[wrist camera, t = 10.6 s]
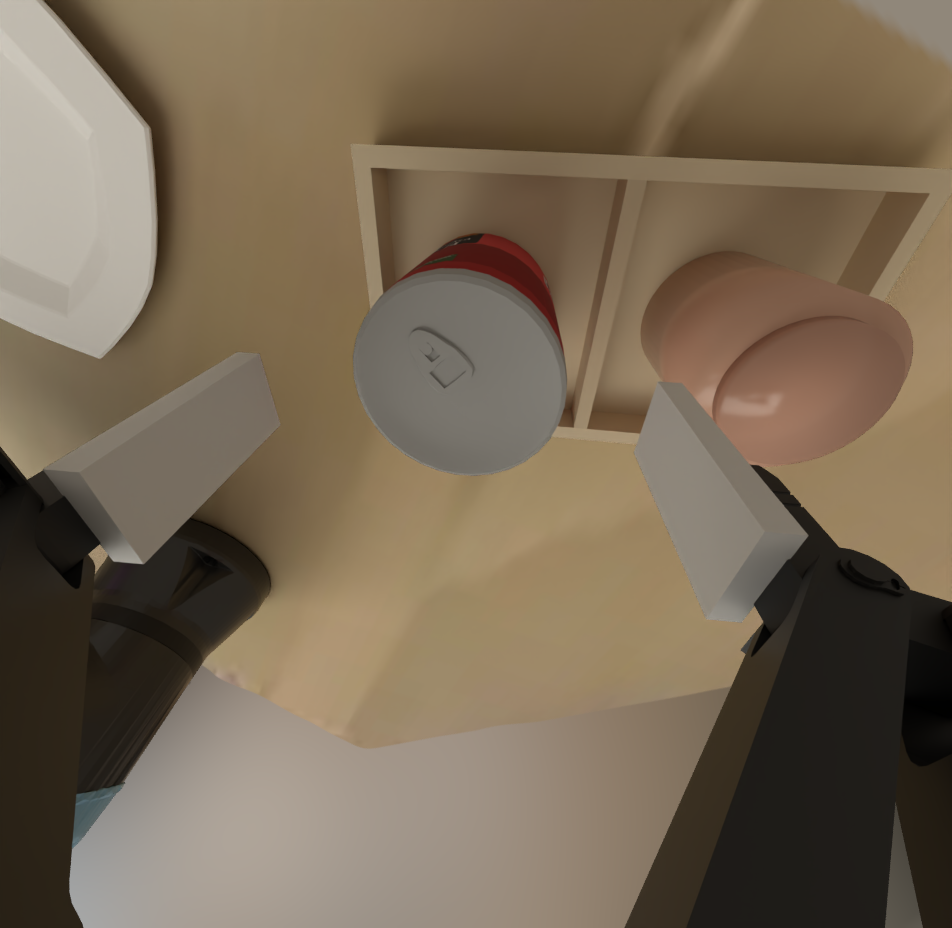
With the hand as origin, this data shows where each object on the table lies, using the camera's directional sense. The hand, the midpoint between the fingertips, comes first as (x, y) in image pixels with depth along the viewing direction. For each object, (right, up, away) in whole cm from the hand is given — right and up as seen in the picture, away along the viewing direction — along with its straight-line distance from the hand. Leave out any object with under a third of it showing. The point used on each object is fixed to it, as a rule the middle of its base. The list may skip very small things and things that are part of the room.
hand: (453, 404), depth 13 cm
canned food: (+1, +7, +10) cm, 12 cm away
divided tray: (+8, +7, +9) cm, 14 cm away
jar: (+14, +6, +9) cm, 17 cm away
